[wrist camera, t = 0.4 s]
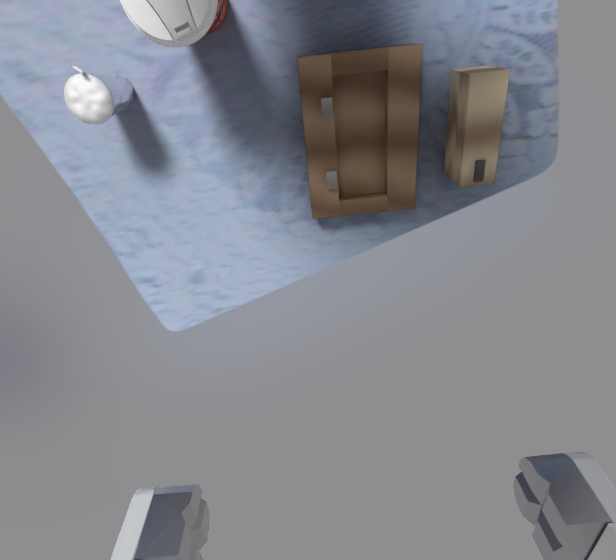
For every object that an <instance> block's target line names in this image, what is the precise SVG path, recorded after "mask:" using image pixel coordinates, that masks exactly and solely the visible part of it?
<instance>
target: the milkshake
mask: <svg viewBox="0 0 616 560" xmlns="http://www.w3.org/2000/svg"><path fill="white" fill-rule="evenodd" d="M71 66H72V67H73V68H75V69H76V70H77V71H79V72H80V73H81V74H76V75H74V76H72V77H70V78H69V80H68V81H67V82H66V84H65V87H64V97H65V102H66V105H67V107H68V109H69V110H70V112H71V113H72V114H73V115H74V116H76V117H77V118H79V119H80V120H81V121H83V122H85V123H88V124H101V123H104V122H106V121H107V120H108V119H110V118H111V117H112V116H113V115H114V114H116V113H117V112H119V111H120V110H122V109H123V108H125V107H126V106H128V105H129V104H130V102H131V101H132V99H133V98H134V92H133V86H132V85H131V84H130V82H129V81H128V80H127V78H124V77H122V76H120V75H118V74H86V73H85V72H83V71H82V70H81V69H80V68H78V67H77V66H75V65H71Z"/></svg>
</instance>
